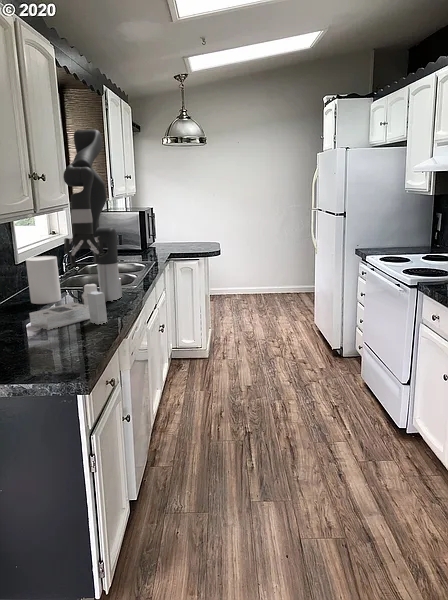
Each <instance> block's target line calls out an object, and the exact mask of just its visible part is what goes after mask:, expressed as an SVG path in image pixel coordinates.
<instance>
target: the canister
mask: <svg viewBox="0 0 448 600" xmlns="http://www.w3.org/2000/svg"><path fill="white" fill-rule="evenodd" d="M25 265H26V272H27V280H28V281H27V282H28V287H29V289H28V290H29V298H30V303H31V304H33V305H34V304H36V305H46V304H53V303H57V302H59V301H61V300H62V294H61V293H62V292H61V285H60V274H59V267H58V257H57V256H56V255H55V256H54V255H42V256H41V255H40V256H33V257H28V258H26V259H25Z"/></svg>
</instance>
